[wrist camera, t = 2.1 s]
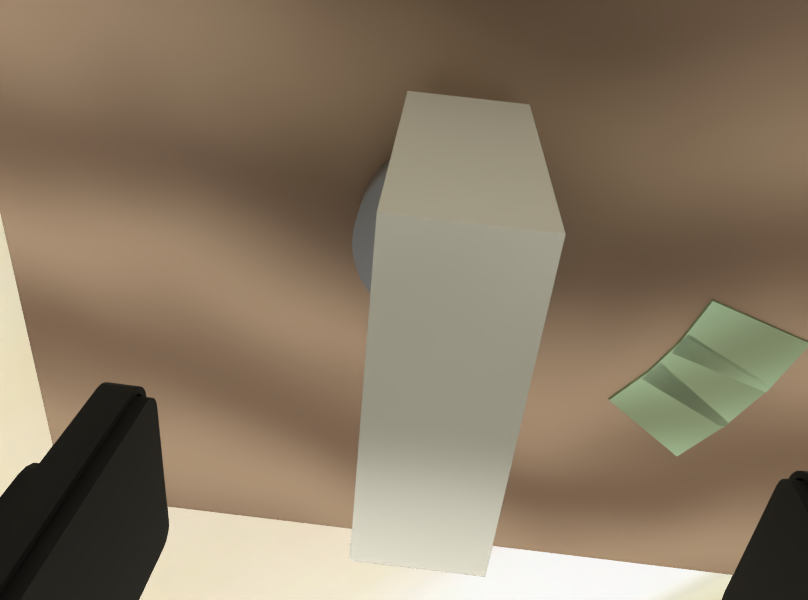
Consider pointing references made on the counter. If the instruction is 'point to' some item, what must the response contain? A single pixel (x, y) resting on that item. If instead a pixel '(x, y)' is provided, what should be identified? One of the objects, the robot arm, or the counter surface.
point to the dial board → (336, 271)
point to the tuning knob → (449, 327)
